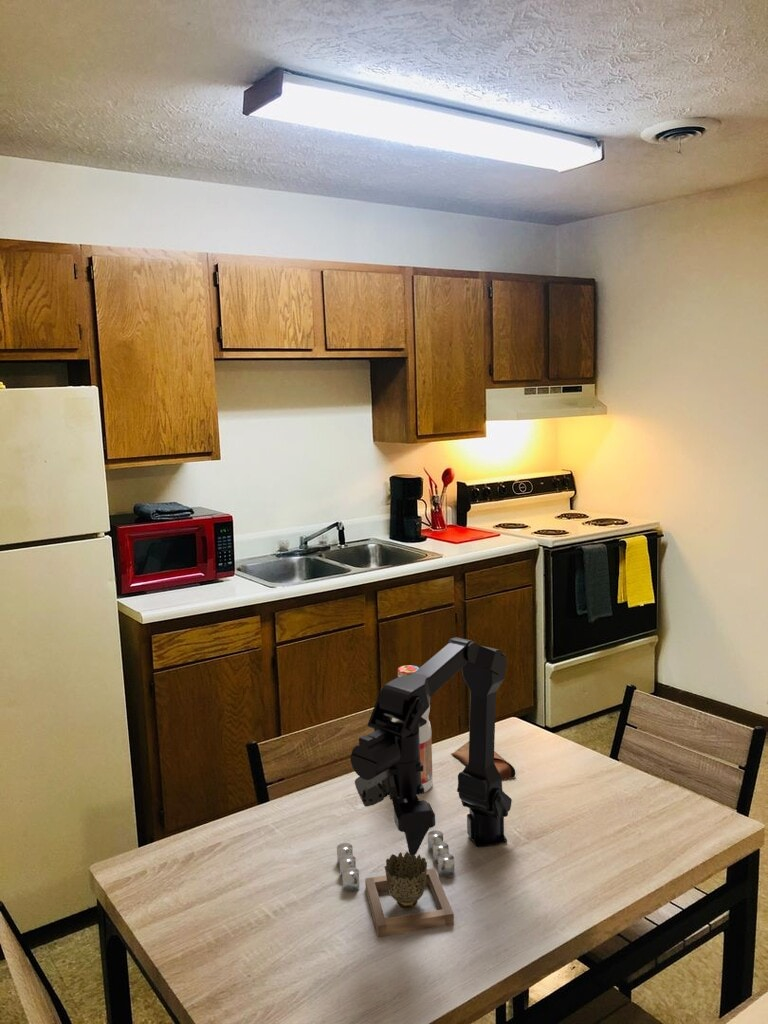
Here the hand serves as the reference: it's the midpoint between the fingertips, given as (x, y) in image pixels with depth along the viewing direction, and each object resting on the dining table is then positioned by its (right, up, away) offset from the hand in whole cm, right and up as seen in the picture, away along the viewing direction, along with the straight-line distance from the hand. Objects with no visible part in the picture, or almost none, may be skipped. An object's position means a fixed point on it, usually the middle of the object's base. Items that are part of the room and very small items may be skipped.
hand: (406, 839), depth 136 cm
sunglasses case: (+19, -4, +51) cm, 54 cm away
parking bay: (0, -12, 0) cm, 12 cm away
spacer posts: (-2, -10, +12) cm, 16 cm away
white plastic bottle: (+3, -6, +42) cm, 42 cm away
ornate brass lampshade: (0, -12, 0) cm, 12 cm away
